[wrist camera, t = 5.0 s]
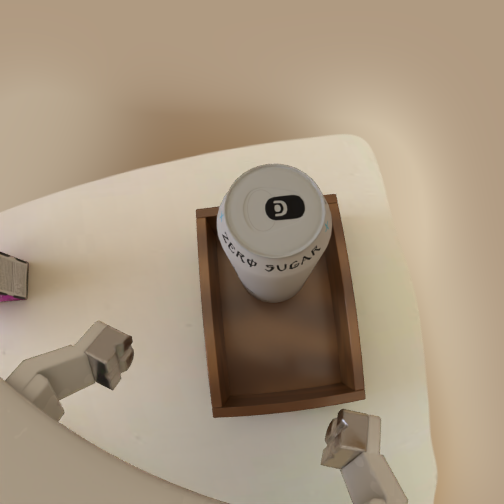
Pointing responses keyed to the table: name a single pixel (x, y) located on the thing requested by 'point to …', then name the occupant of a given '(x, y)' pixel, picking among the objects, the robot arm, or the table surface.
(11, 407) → the robot arm
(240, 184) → the energy drink can
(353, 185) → the table surface
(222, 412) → the wooden tray
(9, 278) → the candy bar box
